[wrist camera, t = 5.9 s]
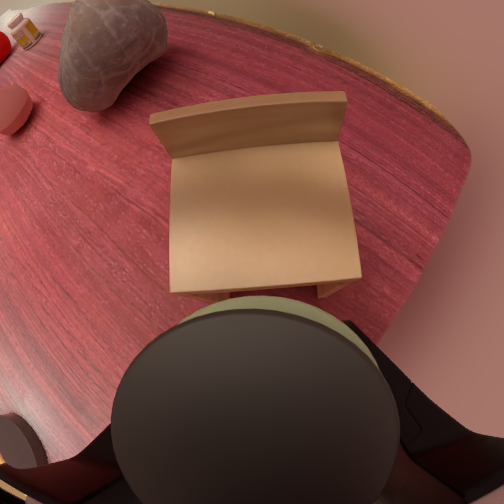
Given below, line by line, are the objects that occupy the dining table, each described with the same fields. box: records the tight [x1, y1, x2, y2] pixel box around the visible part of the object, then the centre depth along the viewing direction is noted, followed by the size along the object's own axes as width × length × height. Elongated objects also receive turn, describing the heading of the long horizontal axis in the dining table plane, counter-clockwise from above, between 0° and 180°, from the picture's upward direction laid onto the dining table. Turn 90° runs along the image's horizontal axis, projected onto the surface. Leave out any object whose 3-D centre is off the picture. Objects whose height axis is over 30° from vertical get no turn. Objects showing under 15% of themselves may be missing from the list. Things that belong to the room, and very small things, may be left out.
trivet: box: [0, 413, 48, 469], centre depth 21 cm, size 9×9×2 cm
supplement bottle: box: [7, 13, 42, 50], centre depth 36 cm, size 5×5×10 cm
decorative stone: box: [58, 0, 167, 112], centre depth 23 cm, size 15×10×15 cm
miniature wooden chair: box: [149, 91, 362, 303], centre depth 17 cm, size 7×8×14 cm
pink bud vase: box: [0, 85, 33, 135], centre depth 27 cm, size 8×8×12 cm
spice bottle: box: [111, 295, 400, 504], centre depth 7 cm, size 5×5×8 cm
